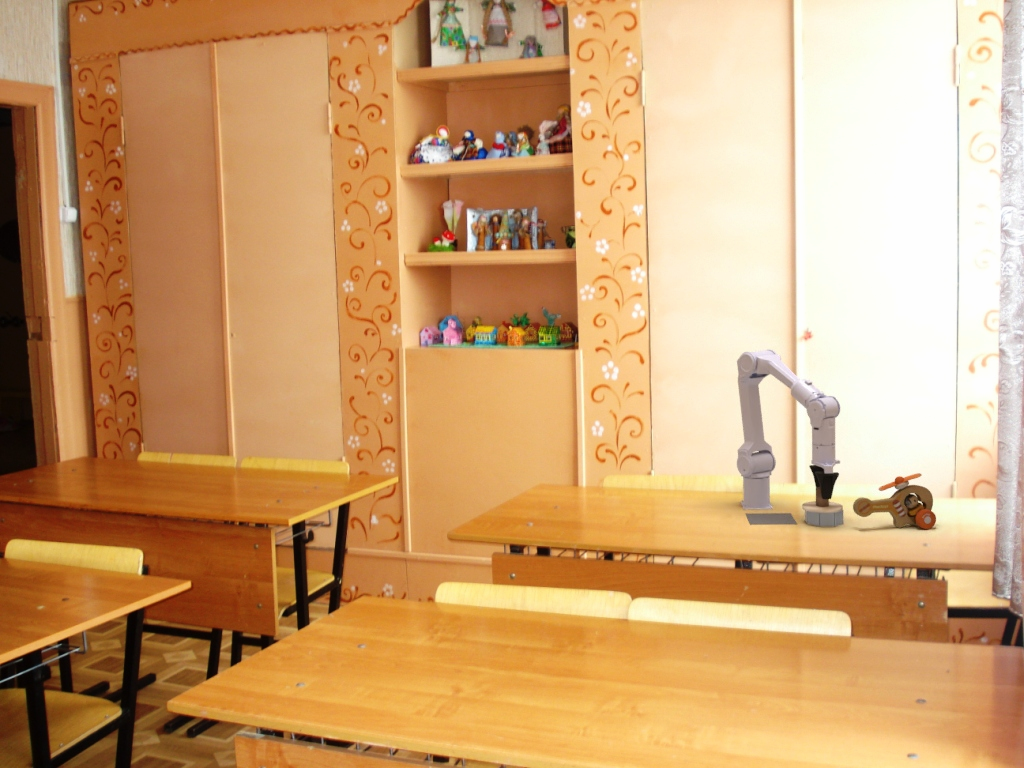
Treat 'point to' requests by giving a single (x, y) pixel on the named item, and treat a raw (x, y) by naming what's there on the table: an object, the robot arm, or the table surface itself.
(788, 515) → the mat
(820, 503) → the lid
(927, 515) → the toy helicopter
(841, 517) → the bowl
